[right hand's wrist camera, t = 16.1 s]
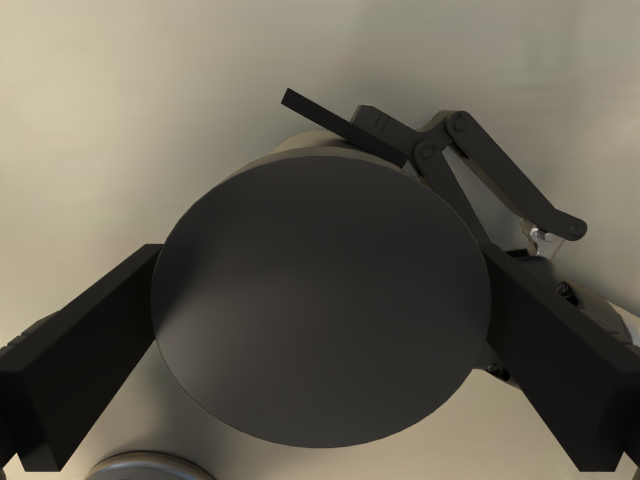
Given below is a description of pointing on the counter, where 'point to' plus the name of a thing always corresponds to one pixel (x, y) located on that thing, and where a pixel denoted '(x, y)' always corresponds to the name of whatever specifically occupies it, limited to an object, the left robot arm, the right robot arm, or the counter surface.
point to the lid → (320, 299)
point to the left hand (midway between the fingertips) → (246, 185)
